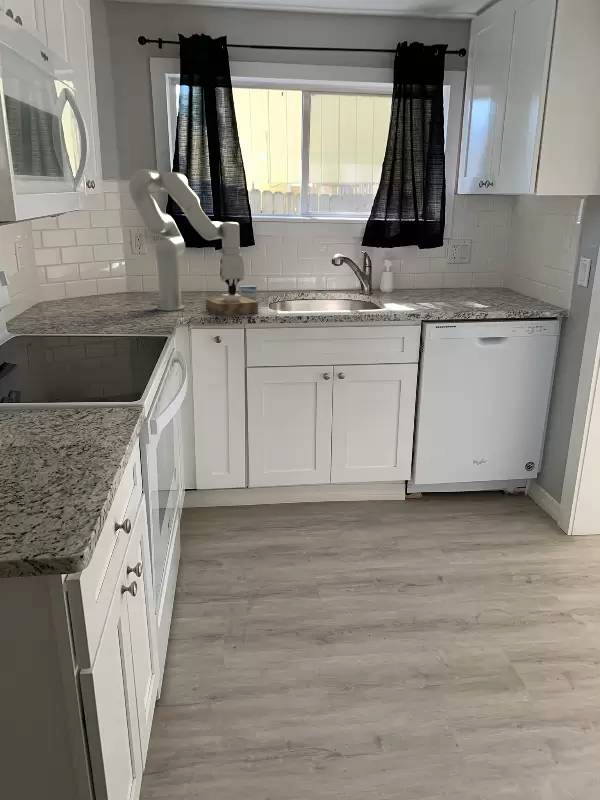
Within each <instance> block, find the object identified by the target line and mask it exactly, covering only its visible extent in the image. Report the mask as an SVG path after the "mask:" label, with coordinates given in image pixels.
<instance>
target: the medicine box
mask: <svg viewBox="0 0 600 800" xmlns="http://www.w3.org/2000/svg"><path fill="white" fill-rule="evenodd" d="M238 295H241V297H245V298H248V299H251V300H254V301H257V286H256V285H238Z"/></svg>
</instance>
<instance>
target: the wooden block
mask: <svg viewBox="0 0 600 800" xmlns="http://www.w3.org/2000/svg"><path fill="white" fill-rule="evenodd" d="M205 310H206V311H207V310H208V311H207V312H209V311H210V312H209V313H211V312H212V314H214V315H216V316H218V317H231V316H241V315H242V314H243V315H250V314H249V313H255V314H258V313H259V301H257V300H256V301H254V300H251V299H248V298H245V297H241V299H239V301H234V302H227V301H225V300H224V298H222V297H219V298H218V297H216V298H205Z"/></svg>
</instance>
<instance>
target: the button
mask: <svg viewBox="0 0 600 800" xmlns="http://www.w3.org/2000/svg"><path fill="white" fill-rule="evenodd" d="M221 298H224V300H225V301H227V302H234V301H239V299H241V295H239V293H235V295H231V294H229V293H225V294H224V293H222V294H221Z"/></svg>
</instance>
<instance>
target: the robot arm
mask: <svg viewBox="0 0 600 800" xmlns="http://www.w3.org/2000/svg"><path fill="white" fill-rule="evenodd" d="M128 185H129V186H128V187H129V188H128V189H129V194H130V197H131V199H132V201H133V203H134V205H135V207H136V209H137V211H138V213H139V215H140V217H141V219H142V221H143V224H144V225H145V227H146V229H147V231H148V232H149V233H150V234H151V235H152V236H159V239H158V240H157V241H156V244H155V247H154V251H155V257H156V262H157V264H156V265H157V275H158V295H159V298H157V299H156V300H149V301H148V305H149V306H156V309H157V310H159V311H166V312H167V311H169V312H173V311H182V310H184V309H186V305H184V304H182V293H181V292H182V290H181V289H182V288H181V268H180V267H181V266H180V261H179V257H180V256H182V255H183V254H184V253H185V250H186V242H185V241H184V238H183V236H182V234H181V232H180V230H179V228H178V226H177V224H176V222H175V219H174V218H173V217H172V216H171V215H170V214H168V213H166V212H162V211H161V209H160V208H159V205H158V203H157V202H156V200H155V198H154V196H152V194H151V191H153V192H154V191H155V192H165V193H167V194H168V195H169V196H170V197H171V198H172V200H174V202H176V204H177V205H178V207H180V209H182V211H183V213H184V215H185V217H186V218H187V220H188V221H189V223H190V225H191V226H192V228H193V229H195V231H196V232H197V233H198V235H200V236H201V237H202V238H203V239H205V240H207V241H212V240H213V241H214V240H219V239H221V243H222V244H221V247H222V248H221V249H219V253H220V255H221V256H220V262H219V276H220V282H225V284H227V286H228V287H227V290H228V294H231V295H235V294H236V293H237V285H238V283H239V282H243V281H244V279H245V278H244V277H245V265H244V260H243V259H244V258H243V255H242V254H241V250H240V249H241V245H240V243H241V241H240V239H241V238H240V236H241V235H240V224H239V222H237V221H236V222H235V221H225V222H223V221H215V220H214V221H212V220H211V219H210V218H209V217H208V216H207V214H206V213H205V212H204V210H203V209H202V207H201V203H200V202H201V201H200V198H199V197H198V195H197V194H196V193H195V192H194V190H192V189H191V187H190V185H189V181H188V178H187V177H186V176H185V175H184V174H183V173H181V172H177V171H176V172H175V171H170V172H169V171H162V170H155V169H148V168H147V169H146V168H145V169H139V170H137V171H135V172H134V173H133V174H132V176H131V177H130V181H129V184H128Z"/></svg>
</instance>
